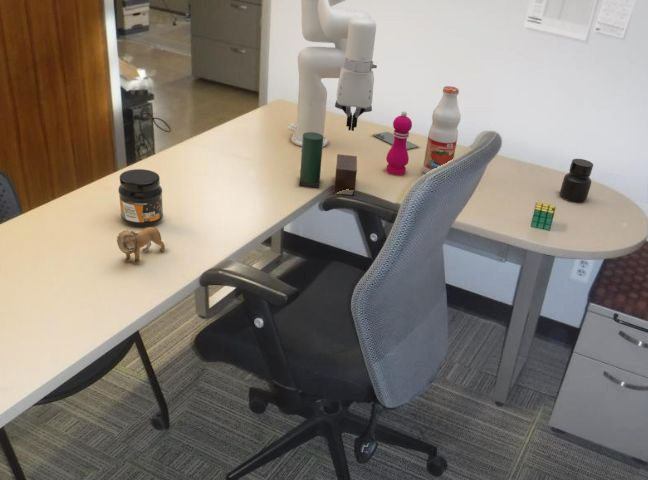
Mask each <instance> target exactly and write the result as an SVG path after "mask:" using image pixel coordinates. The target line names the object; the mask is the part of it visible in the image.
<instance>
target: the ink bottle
mask: <svg viewBox="0 0 648 480" xmlns="http://www.w3.org/2000/svg"><path fill="white" fill-rule="evenodd" d="M593 168H594V163H593V162H591V161H590V160H587V159H584V158H573V159H572V161H571V163H570V166H569V172H568V173H565V175H564V176H563V180H562V184H561V186H560V190H559V197H561V198H562V199H563V200H566V201H570V202H573V203H585V201H587V199H588V195H589V193H590V189H591V185H592V179H591V175H592V172H593Z"/></svg>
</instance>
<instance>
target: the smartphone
mask: <svg viewBox="0 0 648 480" xmlns="http://www.w3.org/2000/svg"><path fill="white" fill-rule="evenodd" d="M372 136H373V137H375V138H377V139H379V140H381V141H383V142H385V143H387V144H389V145H392V146H393V143H394V135H393V133H391V132H389V131H385V132H380V133H375V134H373V135H372ZM416 148H419V145H417V144H414V143H412V142H410V141H408V140H406V149H407V150H411V149H416Z"/></svg>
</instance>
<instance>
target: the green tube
mask: <svg viewBox="0 0 648 480" xmlns="http://www.w3.org/2000/svg"><path fill="white" fill-rule="evenodd" d="M323 148H324V147H323V135H321V134H319V133H314V132H307V133H304V134H303V140H302V146H301V157H300V158H301V159H300V172H299V173H300V174H299V181H298V187H302V188H313V189H320V183H321V170H322V157H323Z"/></svg>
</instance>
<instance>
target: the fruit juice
mask: <svg viewBox="0 0 648 480" xmlns="http://www.w3.org/2000/svg"><path fill="white" fill-rule="evenodd" d="M442 88H443V89H442V95H441V98H440V100H439V102H438V104H437V105H436V107H435V108H434V109H433V110H432V114H431V118H432V119H431V121H432V124H431V125H430V127H429V131H428V136H427V140H426V141H427V142H426V147H425V152H424V153H425V154H424V160H423V165H422V171H423V173H424V174H425V175H427V174H426V173H427V172H429V171H431V170H432V169H434V168H437V167H438V166H441V165H443V164H445V163H447V162H448V161H450V160H452V159H453V158H455V153H456V148H457V142H458V137H459V130H458V127H459V125H460V122H461V119H462V115H461V111H460V109H459V103H458V96H459V93H460V90H459V88H458V87H456V86H450V85H446V86H444V87H442ZM453 160H454V159H453Z"/></svg>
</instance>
